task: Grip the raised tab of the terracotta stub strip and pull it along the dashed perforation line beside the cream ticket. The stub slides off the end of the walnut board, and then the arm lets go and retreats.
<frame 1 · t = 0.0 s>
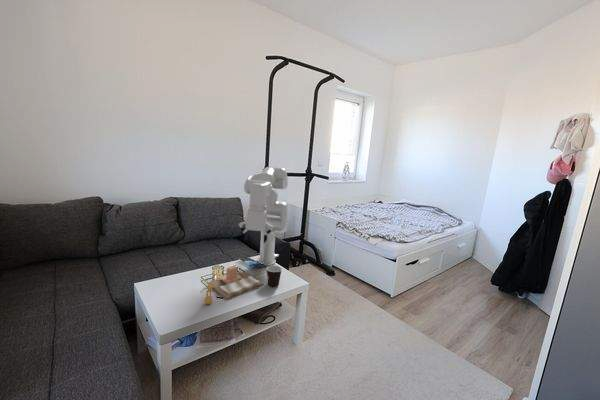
hand: (255, 241, 139), 31 cm above the table, tool pointing down, fingers open, 9 cm apart
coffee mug: (273, 283, 161), on the table
figurine: (208, 305, 136), on the table
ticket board: (236, 285, 155), on the table
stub: (231, 273, 158), point 5 cm above the table, slide at 0.0 cm
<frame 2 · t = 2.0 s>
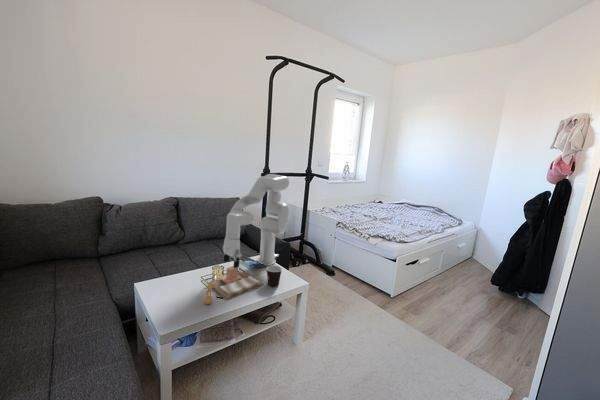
hand: (231, 264, 156), 11 cm above the table, tool pointing down, fingers open, 9 cm apart
nothing on the table moved.
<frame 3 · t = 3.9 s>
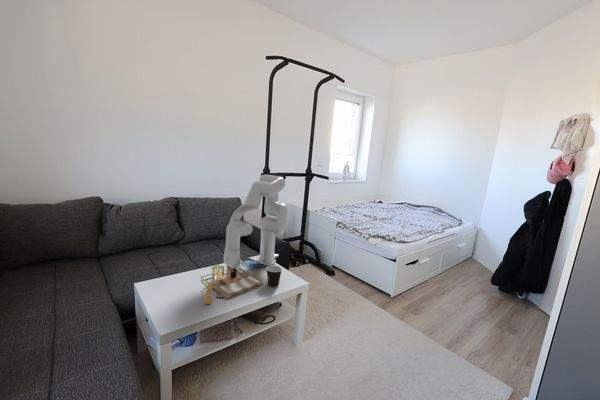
hand: (231, 276, 158), 4 cm above the table, tool pointing down, fingers closed on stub, 3 cm apart
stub: (231, 273, 158), point 5 cm above the table, slide at 0.0 cm, touching gripper
everything else where it was.
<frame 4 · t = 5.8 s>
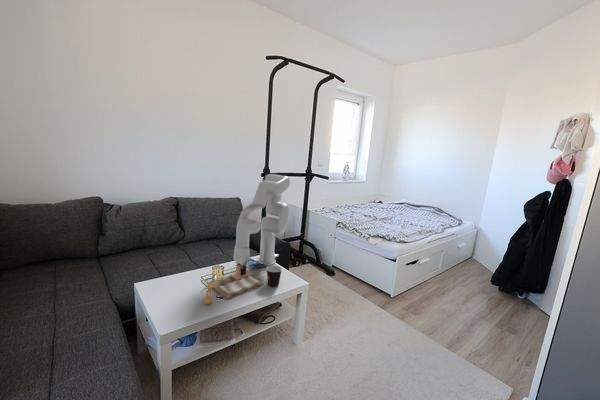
hand: (241, 272, 163), 4 cm above the table, tool pointing down, fingers closed on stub, 3 cm apart
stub: (241, 270, 163), point 5 cm above the table, slide at 6.6 cm, touching gripper
everything else where it was.
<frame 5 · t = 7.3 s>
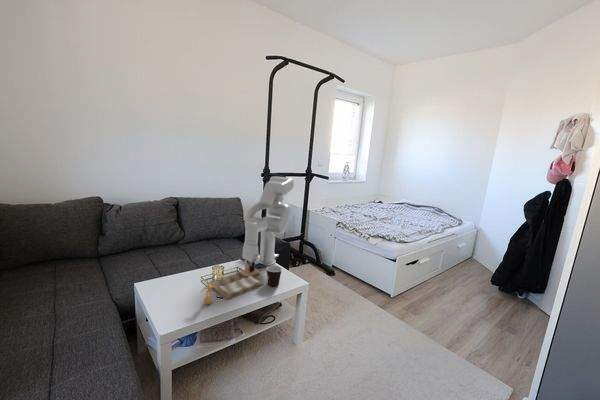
hand: (249, 269, 167), 4 cm above the table, tool pointing down, fingers closed on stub, 3 cm apart
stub: (250, 267, 167), point 5 cm above the table, slide at 12.9 cm, touching gripper
everything else where it was.
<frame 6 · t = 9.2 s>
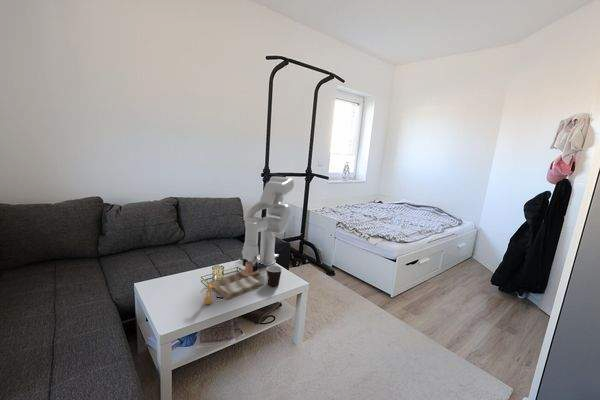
hand: (250, 268, 167), 5 cm above the table, tool pointing down, fingers open, 9 cm apart
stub: (250, 267, 167), point 5 cm above the table, slide at 13.0 cm
everything else where it was.
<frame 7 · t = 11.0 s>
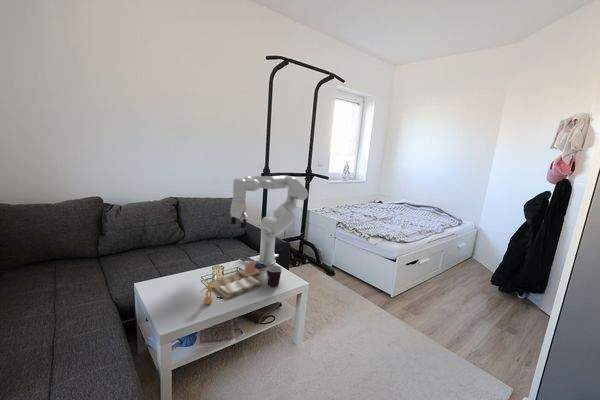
hand: (238, 226, 170), 28 cm above the table, tool pointing down, fingers open, 9 cm apart
nothing on the table moved.
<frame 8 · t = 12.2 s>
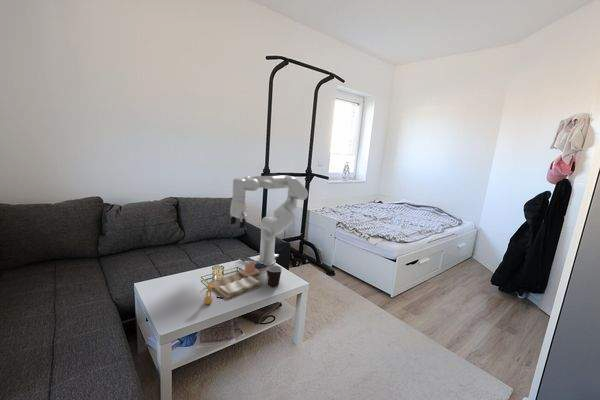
hand: (237, 225, 170), 28 cm above the table, tool pointing down, fingers open, 9 cm apart
nothing on the table moved.
at the end: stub slide at 13.0 cm; the gripper is holding nothing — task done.
